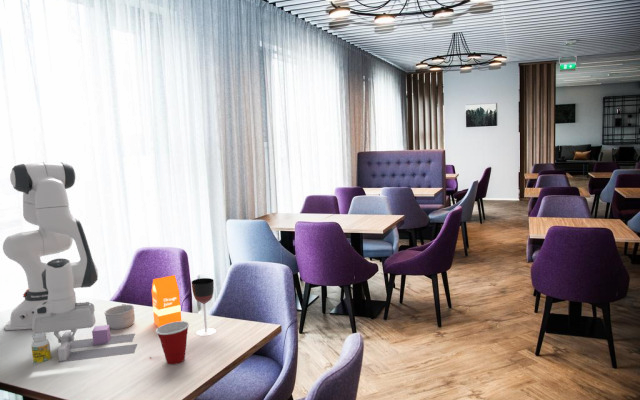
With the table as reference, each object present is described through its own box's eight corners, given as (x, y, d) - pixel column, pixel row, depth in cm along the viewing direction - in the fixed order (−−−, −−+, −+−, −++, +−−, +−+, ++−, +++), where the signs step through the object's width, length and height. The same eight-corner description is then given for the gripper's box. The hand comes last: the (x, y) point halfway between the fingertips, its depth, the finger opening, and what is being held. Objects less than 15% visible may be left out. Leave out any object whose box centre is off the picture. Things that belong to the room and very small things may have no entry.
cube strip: (60, 352, 174) (59, 339, 174) (67, 344, 182) (65, 331, 181) (132, 344, 179) (131, 330, 179) (135, 335, 187) (134, 323, 187)
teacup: (128, 332, 191) (127, 313, 190) (101, 333, 192) (99, 313, 191) (142, 320, 205) (140, 301, 204) (116, 320, 205) (115, 302, 204)
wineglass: (202, 337, 183) (198, 285, 181) (191, 331, 189) (187, 281, 187) (221, 331, 188) (217, 281, 186) (209, 326, 195) (206, 276, 192)
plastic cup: (164, 354, 170) (161, 320, 169) (195, 353, 170) (193, 319, 168) (153, 368, 159) (150, 332, 158) (186, 367, 159) (183, 331, 157)
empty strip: (58, 365, 164) (56, 350, 163) (65, 355, 172) (63, 341, 171) (134, 355, 169) (133, 341, 169) (137, 346, 177) (136, 333, 176)
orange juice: (182, 325, 196) (178, 277, 194) (159, 331, 192) (155, 281, 189) (175, 320, 203) (172, 273, 201) (154, 325, 198) (150, 277, 196)
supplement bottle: (53, 358, 171) (50, 331, 169) (48, 364, 165) (45, 337, 164) (36, 360, 169) (33, 333, 168) (31, 366, 164) (27, 339, 163)
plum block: (93, 344, 178) (92, 331, 177) (96, 339, 183) (95, 326, 182) (108, 342, 179) (106, 329, 178) (110, 337, 184) (109, 324, 183)
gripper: (95, 298, 182) (99, 334, 183) (34, 305, 177) (38, 341, 179) (91, 304, 176) (95, 341, 177) (28, 310, 171) (32, 348, 173)
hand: (66, 341), depth 178 cm, fingers closed on cube strip, 2 cm apart
